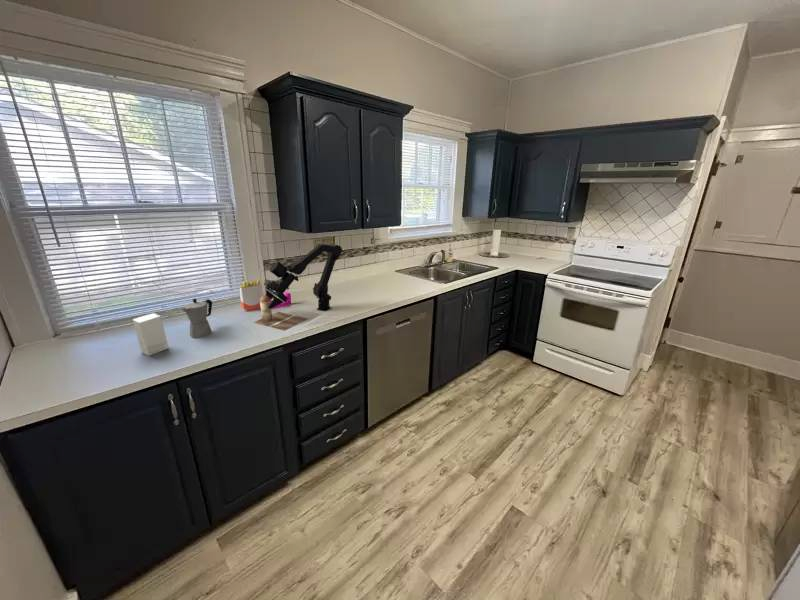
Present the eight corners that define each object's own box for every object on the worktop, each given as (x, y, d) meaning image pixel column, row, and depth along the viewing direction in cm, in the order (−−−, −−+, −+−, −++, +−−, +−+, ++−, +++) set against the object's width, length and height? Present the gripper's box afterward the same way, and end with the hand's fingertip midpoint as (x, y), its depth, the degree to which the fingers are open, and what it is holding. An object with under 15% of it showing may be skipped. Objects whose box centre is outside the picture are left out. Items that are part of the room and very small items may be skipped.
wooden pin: (267, 317, 176) (264, 293, 171) (274, 319, 174) (271, 295, 169) (260, 320, 171) (257, 296, 167) (267, 322, 169) (264, 297, 165)
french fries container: (241, 311, 187) (237, 281, 181) (260, 307, 194) (257, 277, 188) (244, 313, 184) (240, 282, 178) (263, 309, 191) (260, 279, 185)
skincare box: (162, 345, 145) (154, 312, 140) (169, 348, 142) (162, 315, 137) (140, 352, 138) (131, 318, 133) (148, 356, 135) (139, 322, 130)
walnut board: (278, 313, 185) (278, 311, 184) (309, 320, 176) (309, 318, 175) (252, 324, 169) (252, 322, 169) (284, 332, 160) (284, 330, 160)
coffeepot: (196, 341, 149) (189, 304, 144) (181, 338, 152) (173, 301, 146) (223, 328, 163) (217, 294, 158) (208, 326, 166) (202, 292, 160)
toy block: (268, 311, 188) (266, 299, 186) (264, 308, 193) (263, 296, 190) (293, 306, 197) (292, 294, 195) (289, 303, 202) (288, 291, 199)
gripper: (266, 270, 175) (247, 293, 172) (279, 277, 161) (259, 302, 158) (282, 282, 182) (264, 304, 179) (296, 290, 168) (276, 314, 165)
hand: (265, 306), depth 170 cm, fingers open, 9 cm apart
